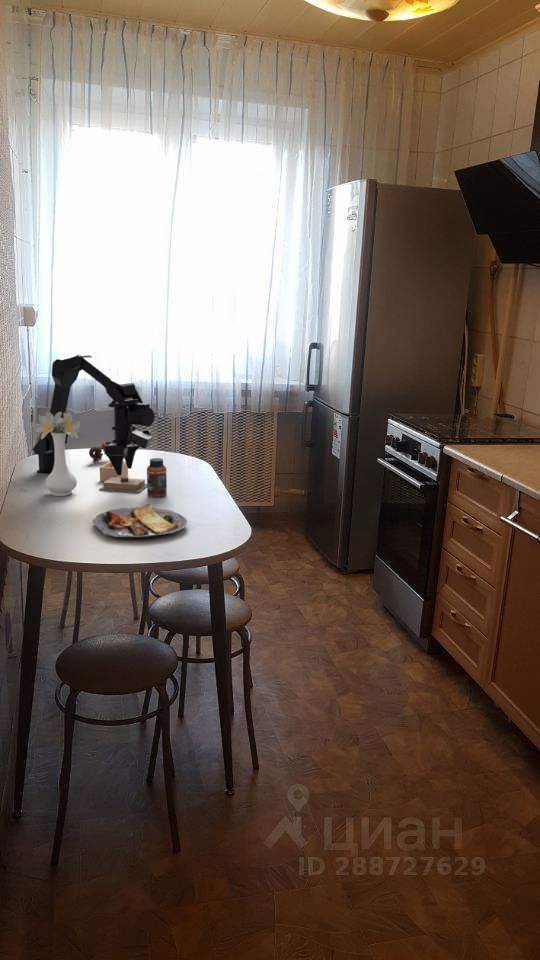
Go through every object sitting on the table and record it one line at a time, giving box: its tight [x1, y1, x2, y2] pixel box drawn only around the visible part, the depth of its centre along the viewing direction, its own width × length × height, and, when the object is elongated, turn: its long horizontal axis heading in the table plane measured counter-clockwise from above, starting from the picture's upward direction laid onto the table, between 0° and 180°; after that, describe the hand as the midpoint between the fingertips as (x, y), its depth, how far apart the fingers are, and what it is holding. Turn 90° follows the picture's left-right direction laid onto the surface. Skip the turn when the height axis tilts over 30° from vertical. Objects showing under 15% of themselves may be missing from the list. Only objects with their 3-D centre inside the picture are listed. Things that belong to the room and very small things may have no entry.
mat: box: [98, 483, 147, 494], centre depth 242 cm, size 13×10×1 cm
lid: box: [103, 476, 146, 491], centre depth 241 cm, size 7×11×3 cm, turn 81°
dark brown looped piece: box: [88, 440, 112, 463], centre depth 274 cm, size 12×10×8 cm
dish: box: [99, 460, 129, 482], centre depth 253 cm, size 6×10×4 cm, turn 171°
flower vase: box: [33, 411, 81, 497], centre depth 230 cm, size 13×18×25 cm
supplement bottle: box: [146, 457, 168, 498], centre depth 233 cm, size 6×6×11 cm
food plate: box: [91, 503, 188, 539], centre depth 203 cm, size 25×23×4 cm
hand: (124, 471), depth 240 cm, fingers open, 9 cm apart
